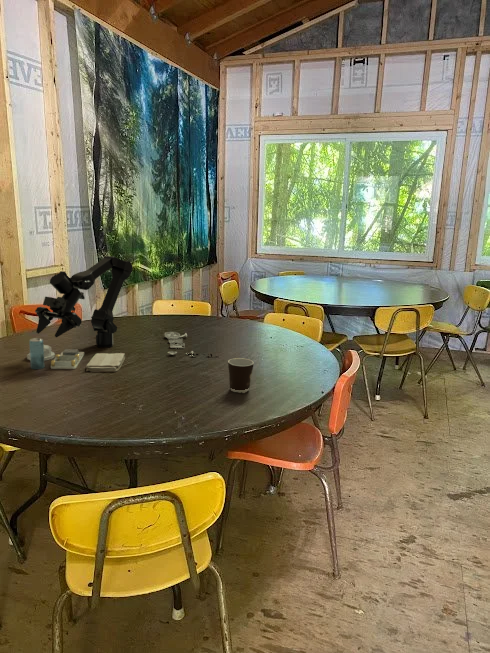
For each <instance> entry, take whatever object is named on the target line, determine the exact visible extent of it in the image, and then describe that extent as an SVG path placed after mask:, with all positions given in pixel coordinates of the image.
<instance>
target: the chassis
mask: <svg viewBox="0 0 490 653" xmlns="http://www.w3.org/2000/svg"><path fill="white" fill-rule="evenodd" d="M84 356H85V351H79V349H77V348H76V349H74V348H71V349H70V348H65V349H64V350H63V351H61V352H60V354H59V353H58V354H55V357H54V358H53V359H50V369H52V370H75V369H76V368H78V365H79V364H80V363H81V360H82V359H83V357H84Z"/></svg>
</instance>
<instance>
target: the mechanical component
mask: <svg viewBox="0 0 490 653" xmlns="http://www.w3.org/2000/svg"><path fill="white" fill-rule="evenodd" d="M55 357H56V354H55V352H54V351H52V346H50V345H47V344H44V362H45V361H49V360H50V361H51V360H54V359H55ZM26 359H27V360H29V361H30V352H29V353H28V354H26Z"/></svg>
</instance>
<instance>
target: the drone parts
mask: <svg viewBox="0 0 490 653" xmlns="http://www.w3.org/2000/svg"><path fill="white" fill-rule="evenodd" d="M182 337H186V338H187V337H188V334H187V332H185V333H184V334H182V335H181V334H180V333H179V332H176V331H166V332H164V338H167V340H168V343H169V344H170V345H169V347H170V348H171V349H173V348H174V349H177V348H178V349H185V342H183V341H182V339H181V338H182ZM175 343H177V344H175ZM182 346H184V347H182ZM177 353H178V351H168V352H167V354H169V355H172V356H174V355H176V354H177ZM187 353H188V352H186V353H185V355H188V354H187ZM190 353H192V354H193V353H194V351H193V350H190ZM192 356H193V355H192ZM192 356H191V355H189V357H192ZM193 357H194V356H193Z"/></svg>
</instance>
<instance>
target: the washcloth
mask: <svg viewBox="0 0 490 653" xmlns="http://www.w3.org/2000/svg"><path fill="white" fill-rule="evenodd" d="M125 359H126V354H125V352H124V353H122V352H120V353H119V352H115V353H107V352H106V353H104V352H103V353H97V352H96V353H95V354H94V356H93V357H92V358H90V360H89V362H88V363H87V364H86V365H85V368H86V370H85V371H86V372H94V373H97V372H99V373H100V372H103V373H104V372H105V373H110V372H111V373H116V372H118V371H119V370H120V369H121V367H122V365H123V364H124V361H125Z"/></svg>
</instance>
